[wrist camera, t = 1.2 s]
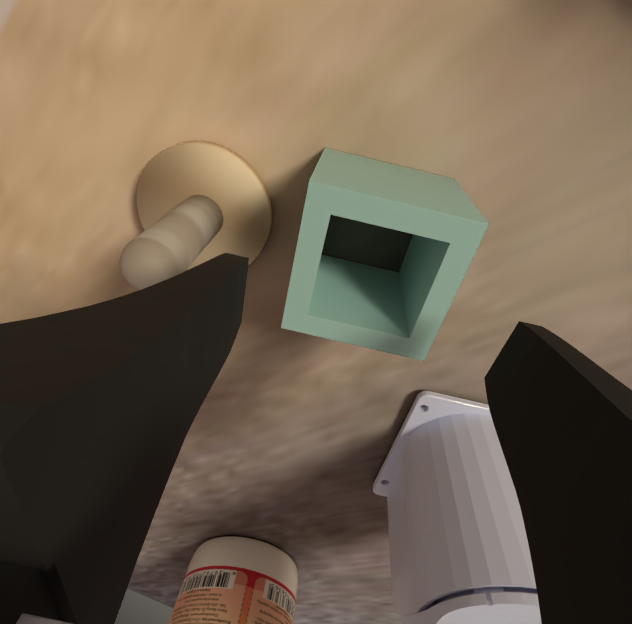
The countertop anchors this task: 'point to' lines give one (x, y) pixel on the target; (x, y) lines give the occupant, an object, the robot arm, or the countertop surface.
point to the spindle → (195, 212)
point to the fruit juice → (237, 584)
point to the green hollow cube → (372, 282)
